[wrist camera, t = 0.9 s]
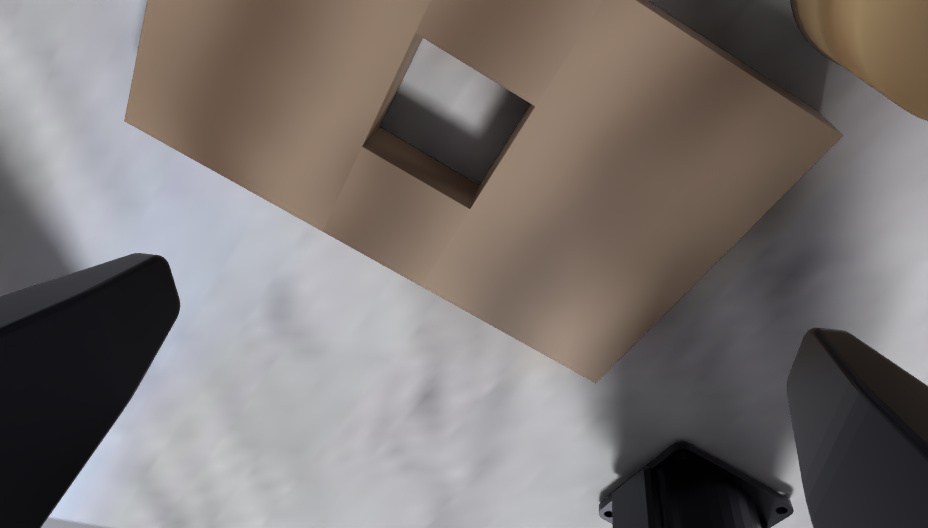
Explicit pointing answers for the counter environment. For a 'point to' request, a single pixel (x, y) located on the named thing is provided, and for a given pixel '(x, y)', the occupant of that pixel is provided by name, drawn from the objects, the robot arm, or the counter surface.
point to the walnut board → (518, 164)
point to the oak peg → (874, 43)
